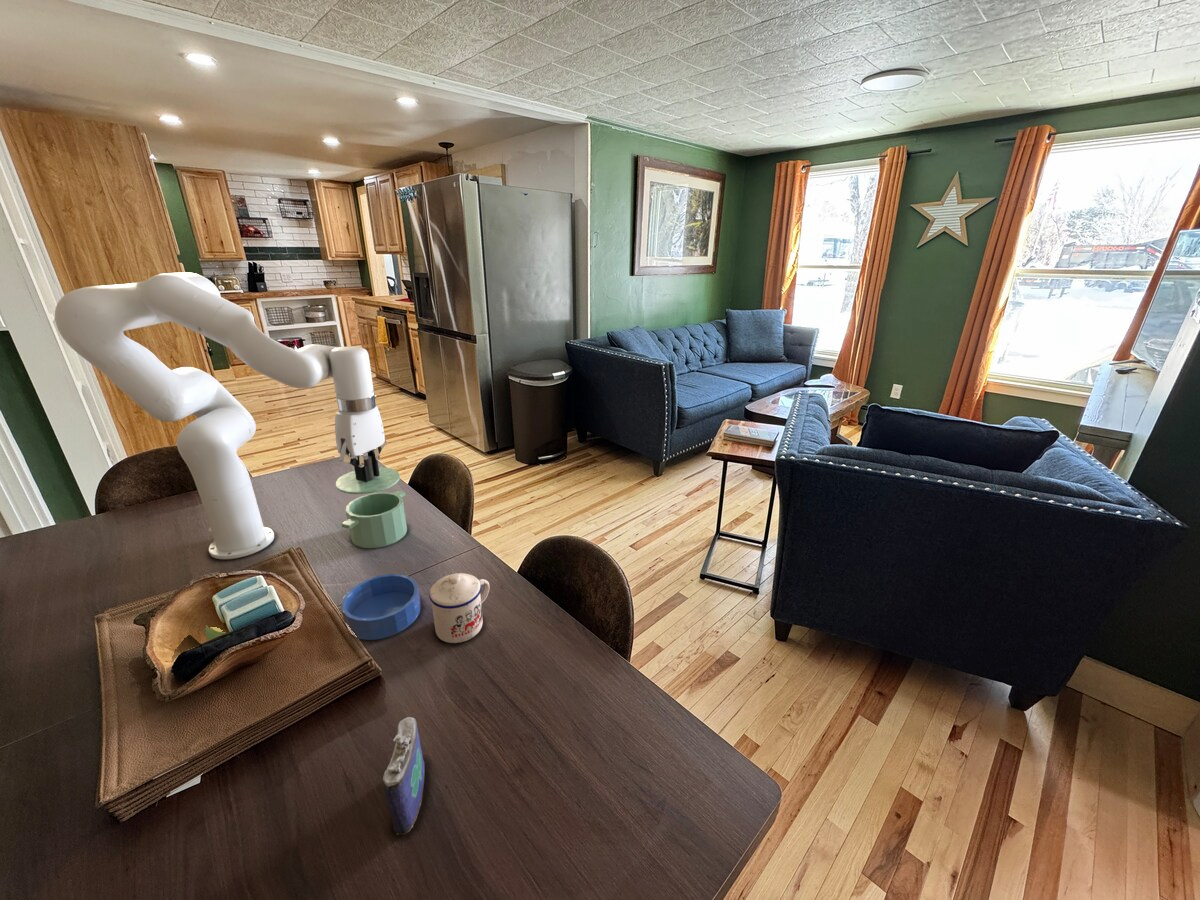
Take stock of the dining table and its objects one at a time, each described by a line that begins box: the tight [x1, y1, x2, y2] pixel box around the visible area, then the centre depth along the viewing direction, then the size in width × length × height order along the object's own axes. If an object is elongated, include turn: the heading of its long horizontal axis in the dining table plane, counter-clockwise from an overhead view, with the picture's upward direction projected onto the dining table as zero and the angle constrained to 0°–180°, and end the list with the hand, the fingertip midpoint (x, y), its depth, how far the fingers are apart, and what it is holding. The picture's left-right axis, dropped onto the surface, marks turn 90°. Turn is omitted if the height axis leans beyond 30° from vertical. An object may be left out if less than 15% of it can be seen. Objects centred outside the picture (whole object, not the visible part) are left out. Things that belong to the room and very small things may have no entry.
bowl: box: [340, 573, 422, 641], centre depth 91 cm, size 13×13×4 cm
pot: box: [340, 490, 408, 549], centre depth 116 cm, size 13×18×8 cm
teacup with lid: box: [428, 572, 491, 644], centre depth 88 cm, size 12×9×12 cm
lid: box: [335, 455, 401, 495], centre depth 111 cm, size 14×14×7 cm
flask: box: [382, 716, 426, 836], centre depth 59 cm, size 9×3×11 cm, turn 8°
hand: (368, 477), depth 112 cm, fingers closed on lid, 2 cm apart
